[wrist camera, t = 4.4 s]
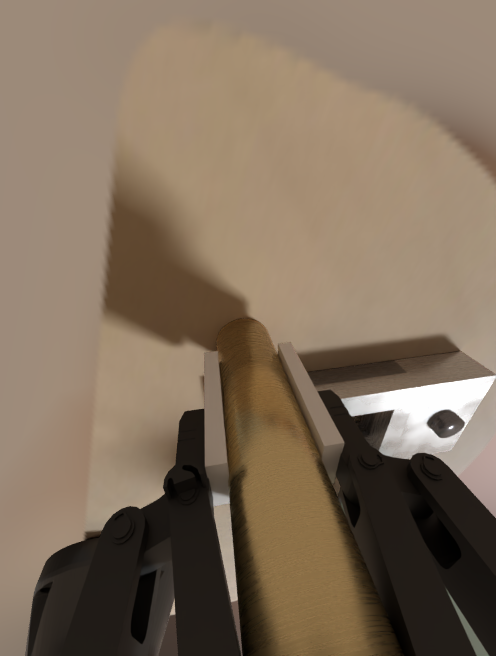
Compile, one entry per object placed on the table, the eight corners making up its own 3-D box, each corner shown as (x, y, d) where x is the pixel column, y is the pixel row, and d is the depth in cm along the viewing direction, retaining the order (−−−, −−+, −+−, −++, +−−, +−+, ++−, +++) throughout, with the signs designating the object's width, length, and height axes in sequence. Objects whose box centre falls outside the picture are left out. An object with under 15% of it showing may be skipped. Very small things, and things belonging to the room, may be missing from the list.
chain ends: (228, 456, 23) (232, 499, 20) (219, 384, 19) (222, 426, 16) (426, 423, 26) (457, 457, 22) (461, 351, 21) (506, 381, 18)
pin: (219, 366, 18) (252, 742, 6) (213, 321, 16) (245, 739, 4) (269, 359, 18) (393, 699, 6) (269, 315, 16) (445, 681, 5)
